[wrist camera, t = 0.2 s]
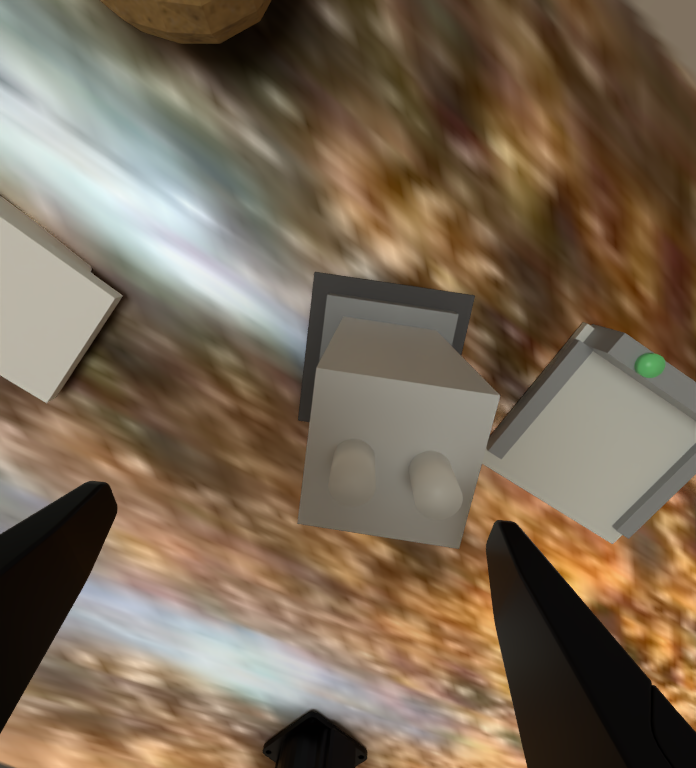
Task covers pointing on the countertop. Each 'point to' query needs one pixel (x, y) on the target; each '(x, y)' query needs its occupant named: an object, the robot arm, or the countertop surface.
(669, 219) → the countertop surface
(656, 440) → the port
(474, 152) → the countertop surface
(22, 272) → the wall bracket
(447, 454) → the plug
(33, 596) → the robot arm
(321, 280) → the pad
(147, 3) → the potato
